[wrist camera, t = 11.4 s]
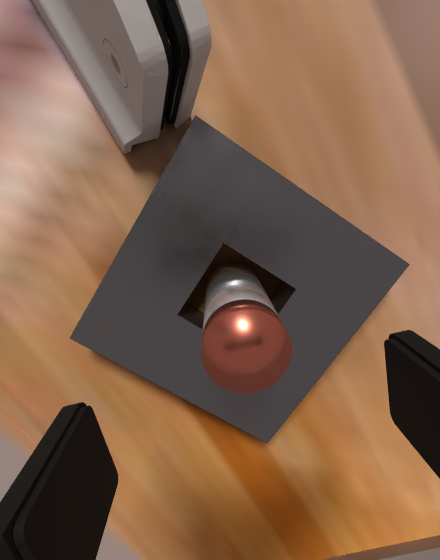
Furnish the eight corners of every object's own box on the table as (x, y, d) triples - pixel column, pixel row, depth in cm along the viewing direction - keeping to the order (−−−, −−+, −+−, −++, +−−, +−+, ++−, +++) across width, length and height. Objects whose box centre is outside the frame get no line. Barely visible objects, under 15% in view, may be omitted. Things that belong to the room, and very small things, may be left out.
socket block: (86, 320, 24) (69, 338, 21) (197, 126, 21) (195, 115, 18) (261, 416, 27) (267, 443, 24) (385, 255, 23) (409, 264, 20)
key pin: (200, 269, 23) (191, 321, 14) (254, 257, 23) (284, 301, 13) (212, 319, 24) (212, 400, 15) (264, 308, 24) (298, 383, 14)
